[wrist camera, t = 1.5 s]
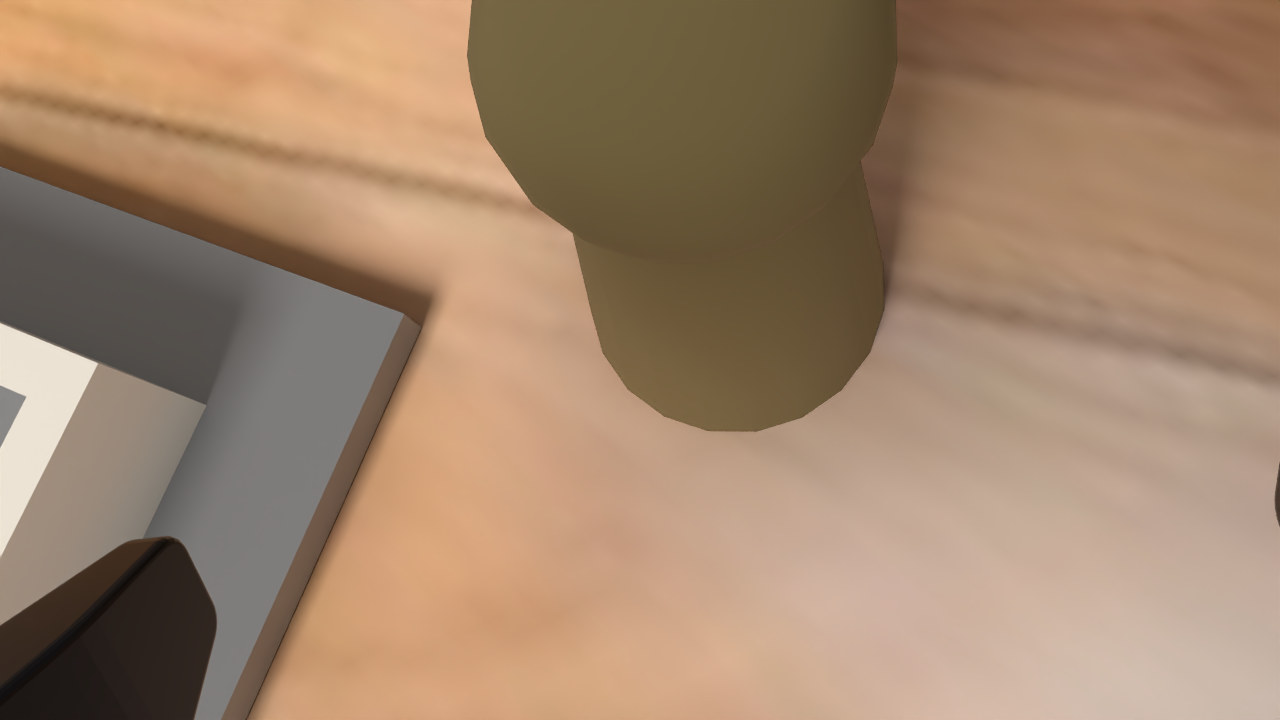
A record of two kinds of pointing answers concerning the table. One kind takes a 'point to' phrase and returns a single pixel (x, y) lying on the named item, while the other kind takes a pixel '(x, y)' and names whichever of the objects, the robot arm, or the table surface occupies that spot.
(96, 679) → the robot arm
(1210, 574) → the table surface
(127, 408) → the shaker caddy
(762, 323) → the pepper shaker
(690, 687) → the table surface
